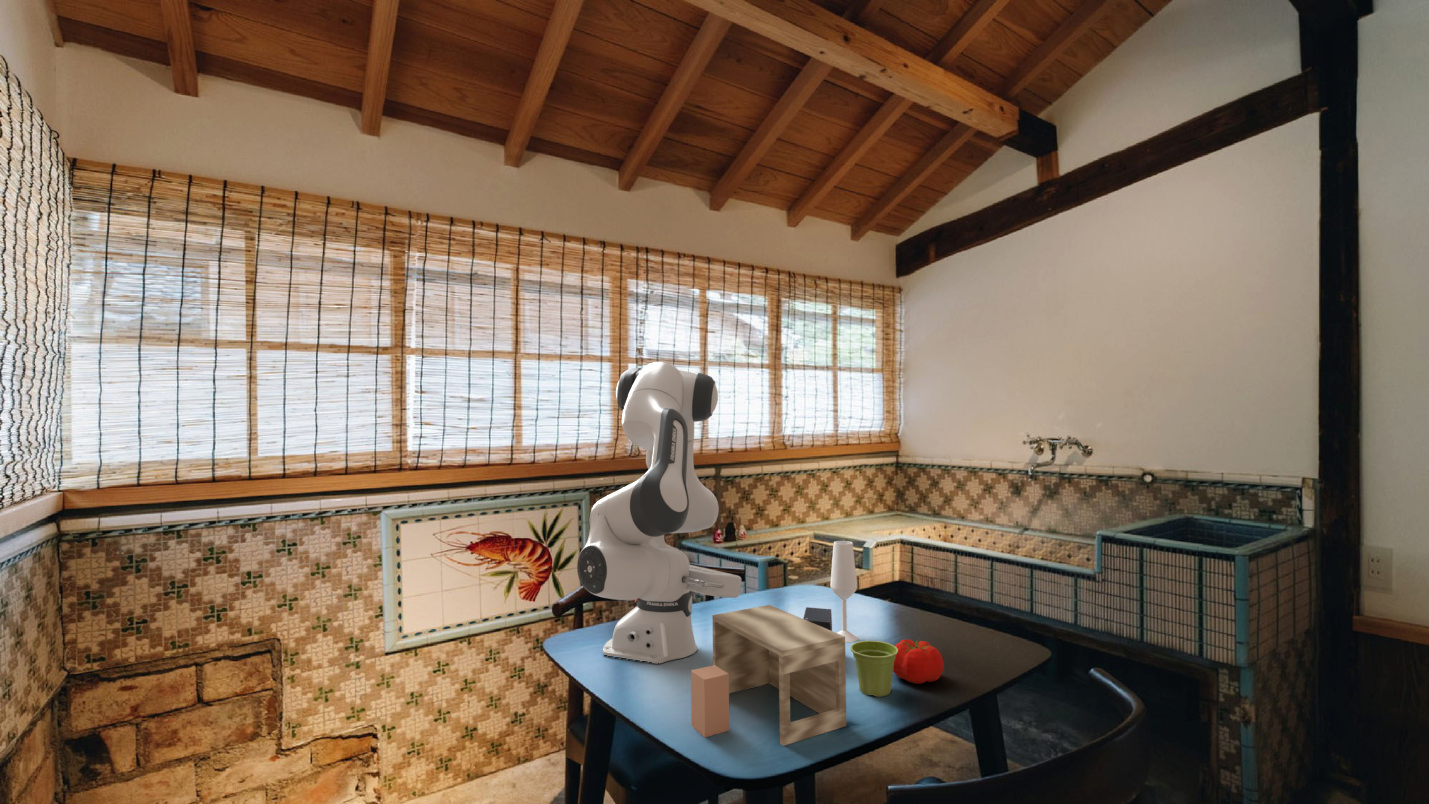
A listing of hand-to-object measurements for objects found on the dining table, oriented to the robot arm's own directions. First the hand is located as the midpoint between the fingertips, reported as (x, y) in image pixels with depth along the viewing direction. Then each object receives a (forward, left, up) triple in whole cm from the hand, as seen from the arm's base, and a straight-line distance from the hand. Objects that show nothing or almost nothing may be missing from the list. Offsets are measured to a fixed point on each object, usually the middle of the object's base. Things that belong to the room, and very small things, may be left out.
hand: (718, 578), depth 121 cm
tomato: (+38, +27, -26) cm, 53 cm away
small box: (+17, +35, -26) cm, 47 cm away
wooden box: (+10, +7, -26) cm, 29 cm away
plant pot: (+29, +19, -26) cm, 43 cm away
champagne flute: (+23, +51, -26) cm, 62 cm away
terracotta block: (-1, -3, -26) cm, 26 cm away
